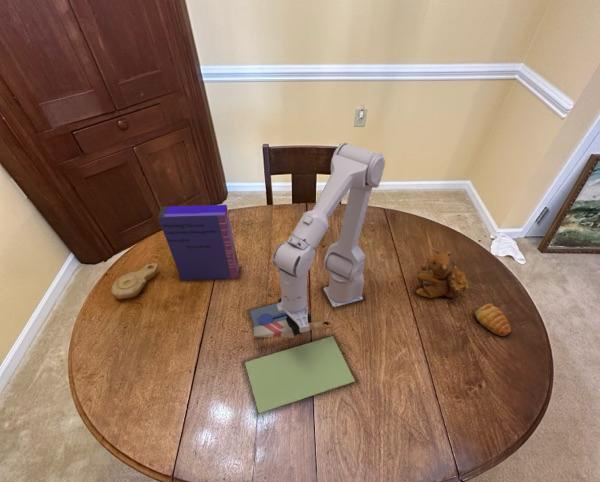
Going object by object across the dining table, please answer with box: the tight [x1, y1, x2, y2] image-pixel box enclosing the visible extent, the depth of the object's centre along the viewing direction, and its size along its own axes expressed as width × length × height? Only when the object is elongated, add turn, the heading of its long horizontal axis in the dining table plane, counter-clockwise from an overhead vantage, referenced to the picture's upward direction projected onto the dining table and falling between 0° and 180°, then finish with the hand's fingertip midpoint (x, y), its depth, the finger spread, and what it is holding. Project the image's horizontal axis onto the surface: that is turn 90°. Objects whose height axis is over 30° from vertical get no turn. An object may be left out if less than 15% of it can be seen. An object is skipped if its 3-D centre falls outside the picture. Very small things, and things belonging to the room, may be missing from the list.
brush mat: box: [244, 335, 356, 415], centre depth 86 cm, size 24×14×1 cm, turn 109°
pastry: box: [474, 303, 512, 337], centre depth 94 cm, size 9×7×4 cm
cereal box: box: [157, 204, 240, 281], centre depth 102 cm, size 17×5×24 cm, turn 92°
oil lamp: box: [111, 263, 159, 300], centre depth 105 cm, size 11×14×5 cm
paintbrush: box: [252, 320, 335, 339], centre depth 87 cm, size 4×3×20 cm
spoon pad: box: [249, 302, 287, 339], centre depth 98 cm, size 14×10×1 cm
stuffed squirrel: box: [415, 251, 470, 299], centre depth 100 cm, size 10×14×13 cm
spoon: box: [258, 312, 286, 325], centre depth 98 cm, size 14×4×1 cm, turn 109°
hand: (295, 326), depth 87 cm, fingers closed on paintbrush, 4 cm apart
